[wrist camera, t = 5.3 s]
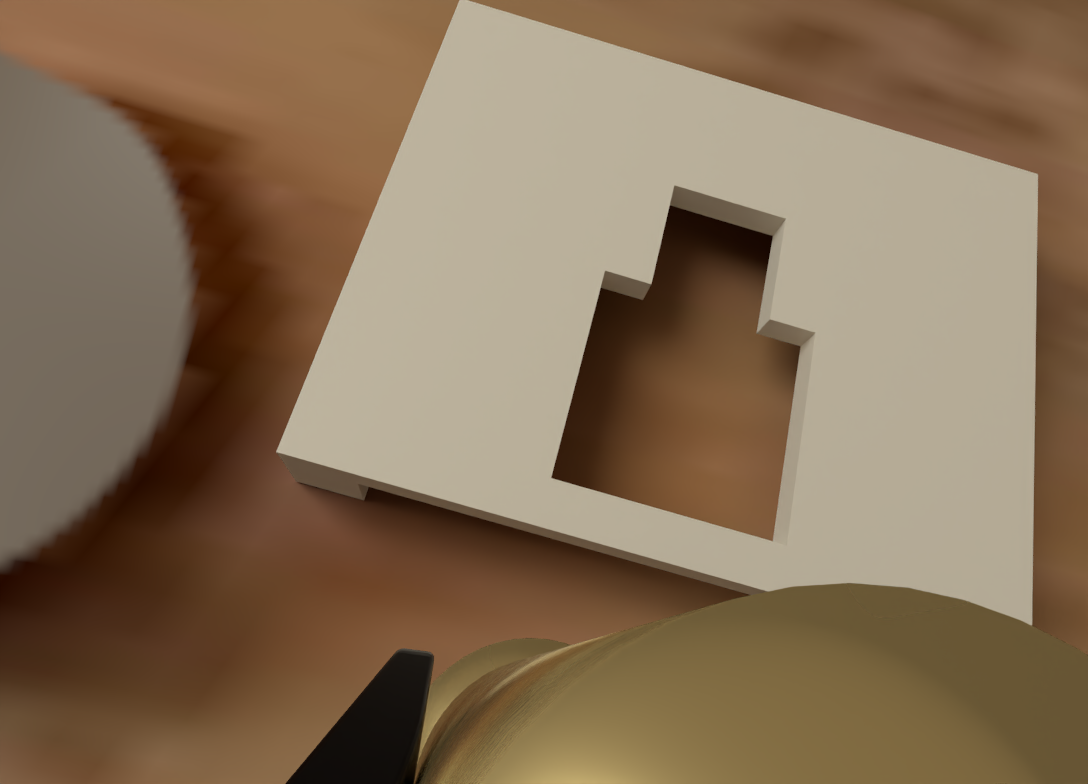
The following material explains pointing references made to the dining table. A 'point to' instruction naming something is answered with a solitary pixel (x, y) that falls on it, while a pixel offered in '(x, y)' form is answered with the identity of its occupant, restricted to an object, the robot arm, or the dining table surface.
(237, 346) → the dining table surface
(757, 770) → the brass peg
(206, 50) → the dining table surface
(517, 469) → the keyhole plate
